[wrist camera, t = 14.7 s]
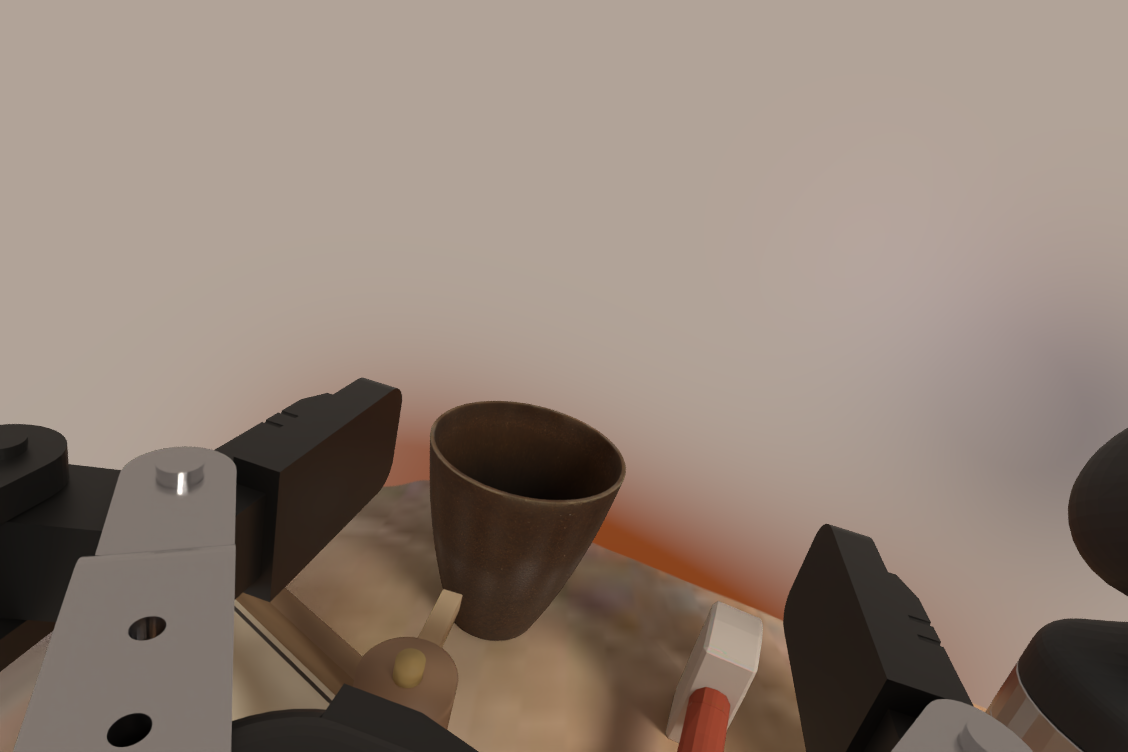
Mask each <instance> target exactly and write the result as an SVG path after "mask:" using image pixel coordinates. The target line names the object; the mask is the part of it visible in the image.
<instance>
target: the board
mask: <svg viewBox="0 0 1128 752" xmlns="http://www.w3.org/2000/svg"><path fill="white" fill-rule="evenodd" d="M361 659H362V656H361V655H360V654H359V653H358V652H357V651H355V650H354V649H353V648H352V647H351V646H350V645H349V644H348V643H346V642H345V641H344V640H343V639H342V638H341V637H340V636H339V635H337V634H336V633H335V632H334V631H333V630H332V629H331V628H330V627H329V626H327V625H326V624H325V623H324V622H323V621H322V620H321V619H320V618H318V617H317V616H316V615H315V614H314V613H313V612H312V611H311V610H309V609H308V608H307V607H306V606H305V605H304V604H303V603H302V602H300V601H299V600H298V599H297V598H296V597H295V596H294V595H293V594H291V593H290V592H289V591H288V590H287V589H286V588H284V589H283V590H282V591H281V592H280V593H279V594H278V595H277V596H276V597H275V598H274V599H273V600H272V601H271V602H267V601H265V600H262V599H259V598H256V597H254V596H251V595H248V594H245V593H242V594H241V595H240V596H239V597H238V598H236V600H235V601H234V646H233V691H232V721H234V720H237V719H240V718H243V717H247V716H251V715H255V714H260V713H265V712H270V711H277V710H286V709H325V710H326V709H327V708H328V706H329V705H330V703H331V702H332V700H333V699H334V697H335V696H336V694H337V693H338V692H339V690H340V689H341V687H342V686H343V684H344V683H345V684H347V685H350V686H353V684H354V677H355V672H356V668H357V666H358V664H359V662H360V660H361Z"/></svg>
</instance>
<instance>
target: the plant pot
mask: <svg viewBox="0 0 1128 752" xmlns="http://www.w3.org/2000/svg"><path fill="white" fill-rule="evenodd" d="M625 473H626V467H625V462H624V459H623V457H622V455H621V453H620V451H619V450H618V449H617V447H616V446H615V445H614V444H613V443H612V442H611V441H610V440H609V439H608V438H607V437H605V436H604V435H603V434H601V433H600V432H599V431H597V430H596V429H594V428H592V427H591V426H589V425H588V424H586V423H584V422H582V421H580V420H578V419H576V418H573V417H571V416H568V415H566V414H563V413H560V412H557V411H554V410H551V409H547V408H544V407H540V406H535V405H531V404H525V403H517V402H508V401H486V402H485V401H484V402H475V403H469V404H464V405H461V406H457V407H455V408H453V409H450V410H448V411H447V412H445V413H444V414H442V415H441V416H440V417H439V418H438V419H437V420H436V421H435V423H434V424H433V426H432V428H431V433H430V501H431V515H432V526H433V535H434V543H435V550H436V556H437V562H438V567H439V573H440V577H441V582H442V587H443V589H445V590H448V591H451V592H455V593H458V594H461V595H463V596H462V600H461V604H460V609H459V612H458V614H457V616H456V619H455V623H456V624H457V625H458V626H459V627H460V628H462V629H463V630H464V631H466V632H467V633H469V634H471V635H473V636H475V637H478V638H482V639H486V640H496V641H499V640H508V639H512V638H515V637H517V636H519V635H521V634H523V633H524V632H525V631H526V630H527V629H528V628H529V627H530V626H531V625H532V624H533V623H534V622H535V621H536V620H537V619H538V618H539V616H540V615H541V614H542V613H543V612H544V610H545V609H546V608H547V607H548V606H549V604H550V603H551V602H552V601H553V599H554V598H555V597H556V595H557V594H558V593H559V592H560V590H561V589H562V588H563V586H564V585H565V583H566V582H567V580H568V579H569V578H570V576H571V575H572V573H573V572H574V570H575V569H576V567H577V566H578V564H579V562H580V561H581V559H582V558H583V556H584V554H585V553H586V551H587V549H588V548H589V546H590V545H591V543H592V541H593V539H594V538H595V536H596V534H597V532H598V531H599V529H600V527H601V525H602V523H603V521H604V519H605V517H606V515H607V513H608V511H609V509H610V507H611V505H612V503H613V501H614V499H615V497H616V495H617V493H618V491H619V489H620V486H621V484H622V482H623V480H624V477H625Z"/></svg>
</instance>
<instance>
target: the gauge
mask: <svg viewBox="0 0 1128 752" xmlns="http://www.w3.org/2000/svg"><path fill="white" fill-rule="evenodd" d="M462 596H463V595H461V594H458V593H455V592H451V591H448V590H445V589H443V590H442V592H441V594H440V596H439V598H438V600H437V602H436V604H435V606H434V608H433V610H432V612H431V613H430V615H429V617H428V619H427V621H426V623H425V625H424V627H423V629H422V631H421V633H420V634H419V636H418V638H415V637H400V638H394V639H390V640H387V641H384V642H382V643H380V644H378V645H376V646H374V647H373V648H371V649H370V650H369V651H368V652H367V653H366V654H365V655H364V656H363V657H362V659H361V660H360V662H359V664H358V666H357V668H356V672H355V677H354V684H353V687H355V688H358V689H361V690H363V691H366V692H369V693H371V694H374V695H377V696H379V697H382V698H385V699H387V700H390V701H393V702H395V703H398V704H401V705H403V706H406V707H409V708H411V709H414V710H417V711H419V712H422V713H423V714H425V715H426V716H428V717H429V718H431V719H432V720H434V721H435V722H436V723H438V724H439V725H441V726H442V727H444V728H445V729H446V730H447V727H448V723H449V719H450V715H451V711H452V706H453V702H454V698H455V694H456V690H457V685H458V672H457V668H456V665H455V663H454V661H453V659H452V658H451V657H450V655H449V654H448V653H447V652H446V651H445V650H444V649H443V648H442V647H443V645H444V642H445V640H446V638H447V636H448V634H449V632H450V629H451V627H452V625H453V623H454V621H455V619H456V616H457V614H458V612H459V609H460V604H461V600H462Z"/></svg>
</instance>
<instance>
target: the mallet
mask: <svg viewBox="0 0 1128 752" xmlns="http://www.w3.org/2000/svg"><path fill="white" fill-rule="evenodd" d="M762 632H763V624H762V621H761V619H760V618H758V617H755V616H753V615H751V614H748V613H746V612H743V611H741V610H739V609H736V608H734V607H731V606H729V605H727V604H724V603H722V602H719V601H717V602H716V603H714V604H713V605H712V608H711V610H710V612H709V615H708V617H707V619H706V621H705V623H704V626H703V628H702V630H701V632H700V634H699V636H698V639H697V641H696V643H695V646H694V648H693V650H692V653H691V655H690V657H689V660H688V662H687V665H686V667H685V670H684V672H683V674H682V676H681V679H680V681H679V683H678V685H677V687H676V691H675V695H674V699H673V703H672V706H671V711H670V715H669V720H668V724H667V729H666V733H665V734H666V735H667V737H668V738H669V739H671V740H673V741H675V742H677V743H679V747H678V751H677V752H724V745H725V738H726V732H727V729H728V727H729V726H730V724H731V722H732V720H733V718H734V716H735V714H736V712H737V710H738V708H739V706H740V704H741V702H742V701H743V699H744V697H745V695H746V693H747V691H748V689H749V687H750V685H751V683H752V681H753V679H754V677H755V675H756V672H757V670H758V663H759V656H760V650H761V643H762Z"/></svg>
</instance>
